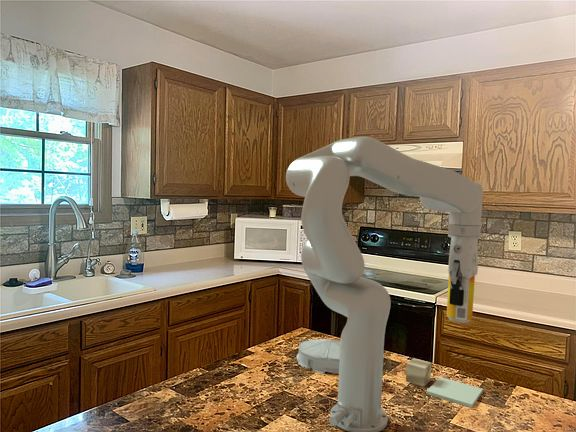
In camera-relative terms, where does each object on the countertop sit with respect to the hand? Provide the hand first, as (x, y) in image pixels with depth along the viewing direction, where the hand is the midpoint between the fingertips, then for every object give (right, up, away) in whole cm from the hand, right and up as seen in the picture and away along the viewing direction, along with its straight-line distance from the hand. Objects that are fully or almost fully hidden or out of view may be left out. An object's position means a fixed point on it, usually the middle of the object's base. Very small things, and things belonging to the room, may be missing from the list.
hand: (460, 301), depth 112 cm
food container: (-32, -22, +20) cm, 44 cm away
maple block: (-8, -23, +8) cm, 26 cm away
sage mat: (-1, -24, +1) cm, 24 cm away
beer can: (0, -5, 0) cm, 5 cm away
